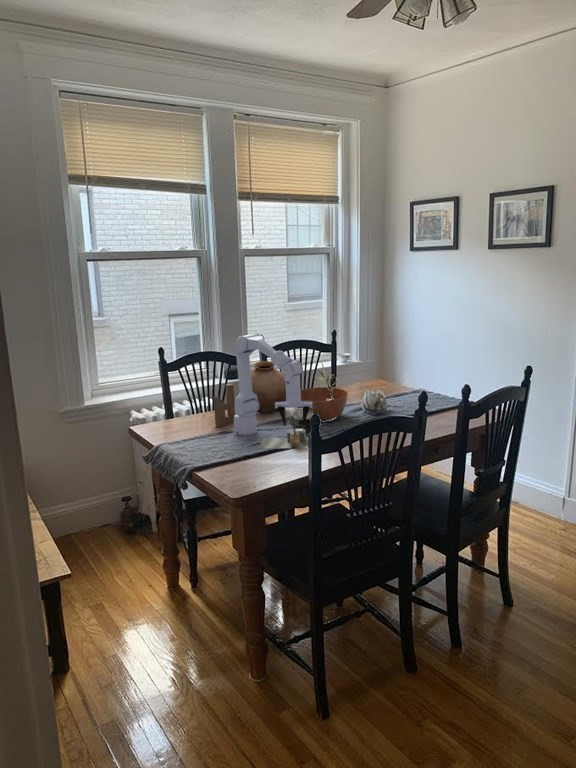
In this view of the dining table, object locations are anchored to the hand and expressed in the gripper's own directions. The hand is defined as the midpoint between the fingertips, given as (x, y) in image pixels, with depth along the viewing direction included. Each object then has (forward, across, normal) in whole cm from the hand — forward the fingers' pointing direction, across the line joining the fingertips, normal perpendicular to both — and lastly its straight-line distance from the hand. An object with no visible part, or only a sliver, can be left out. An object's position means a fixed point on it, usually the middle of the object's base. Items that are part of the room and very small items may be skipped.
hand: (294, 425), depth 224 cm
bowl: (+10, +8, +41) cm, 43 cm away
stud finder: (+8, 0, +6) cm, 11 cm away
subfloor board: (+10, -4, +3) cm, 11 cm away
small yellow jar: (+8, 0, 0) cm, 9 cm away
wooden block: (+10, -35, +32) cm, 48 cm away
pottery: (+10, -19, +50) cm, 54 cm away
